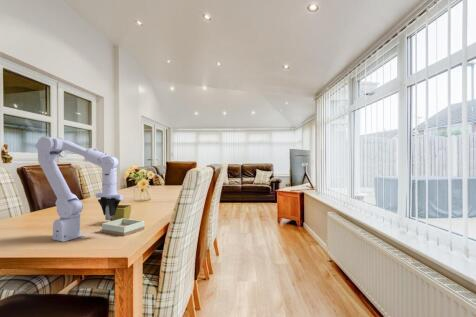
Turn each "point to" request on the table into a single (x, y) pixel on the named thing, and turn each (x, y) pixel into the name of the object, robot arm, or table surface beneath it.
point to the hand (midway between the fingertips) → (109, 215)
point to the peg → (107, 213)
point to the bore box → (122, 226)
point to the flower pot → (122, 212)
